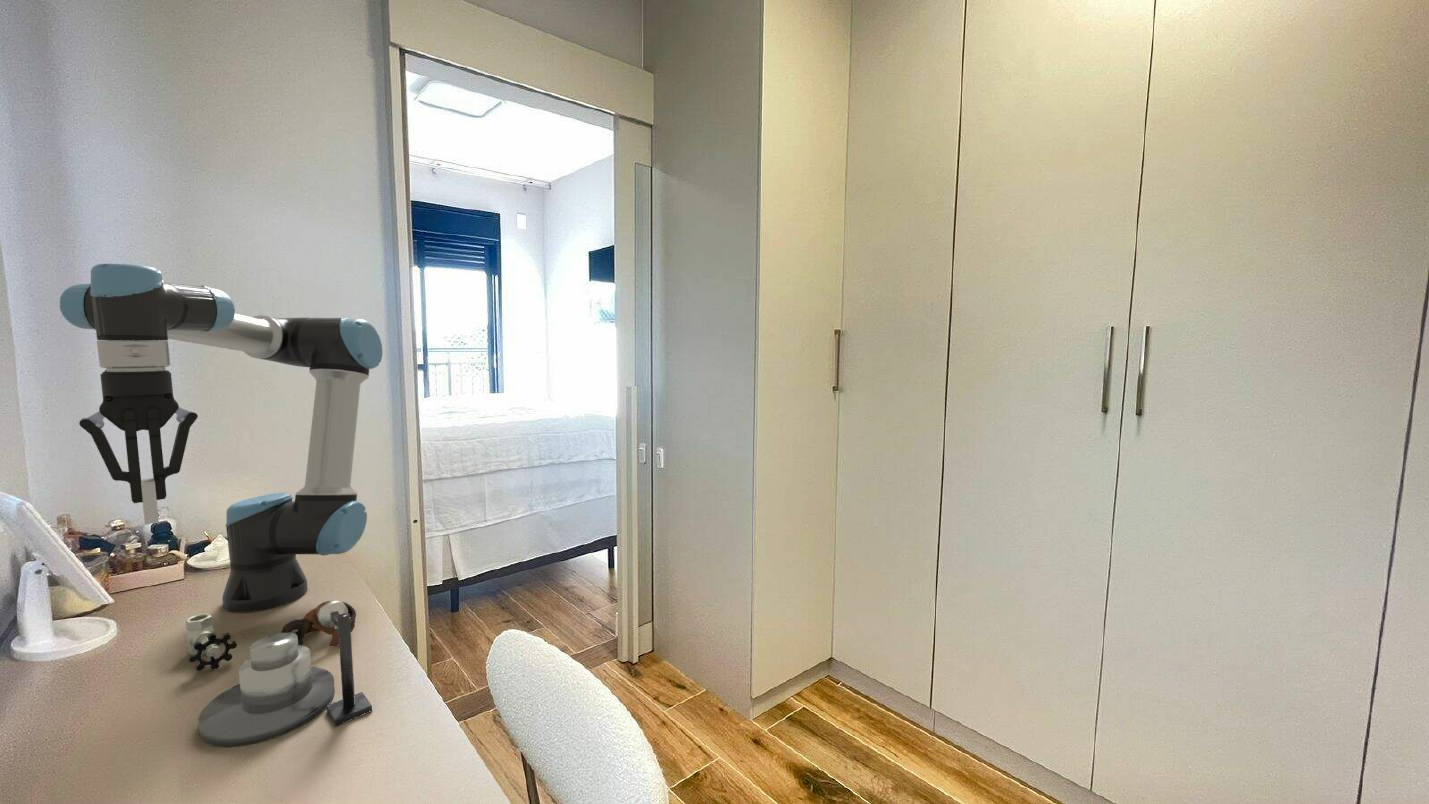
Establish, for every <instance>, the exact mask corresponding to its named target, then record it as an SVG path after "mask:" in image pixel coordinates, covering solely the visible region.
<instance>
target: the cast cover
mask: <svg viewBox="0 0 1429 804" xmlns="http://www.w3.org/2000/svg"><path fill="white" fill-rule="evenodd" d="M249 656H250V657H249V658H248V659H247V660H245V661H243V663H241V665H240V666H239V668H238V677H239V679H238V680H239V684H240V692H241V703H242V709H243V711H245V712H247V713H251V714H263V713H269V712H274V711H277V710H281V709H283V708H286V707H288V706H291V705H293V704H295V703H297V702H298V701H300V700H302V699H303V698H304V697H306V696H307V695H308V694H309V693H310V691H311V690H312V686H313V685H312V671H311V667H312V659H311V650H310V648H308V646H305V645H302V646H301V645H298V637H297V635H296V634H294V632H291V633H281V632H280V633H274V634H272V635H268V636H264V637H262V638H260V639H258V640H256V641H254V642H253V643H252V644H250V647H249Z"/></svg>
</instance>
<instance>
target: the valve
mask: <svg viewBox="0 0 1429 804" xmlns="http://www.w3.org/2000/svg"><path fill="white" fill-rule="evenodd" d="M185 627H186V629H187V630H186V632H185V634H184V640H185V643H186V644H187V648H188V653H189V656H188V657H187V661H188V662H189V663H195V662H196V661H198V664H195V666H194V668H195V670H196V671H197V672H199V671H203V670H204V669H205V667H206V666H209V668H210V669H211V671H215V670H217V669H219V667H220V664H219V663H220V662H222V661H223V660H224V661H226V662H230V661H232V659H233V657H234V656H233V655H232V653H230V650H234V649H236V648H237V647H238V643H237V642H236V641H234V640H233V641H231V642H230V643H229V642H228V641H230V639H231V637H232V636H231V634H230V633H228V632H224V633H222V637H221V638H219V637H218V638H217V635H216V629H215V627H214V625H213V621H212V615H211V614H210V613H200V614H195V615H192V616H191V617H188V618H187V619H185ZM221 644H223V645H224V651H223V652H222V653H221V655H220V656H219V657H218V658H215V657H216V656H217V655H218V654H220V645H221ZM204 654H205V656H207V657H209V659H210V660H205V659H203V658H202V655H204Z"/></svg>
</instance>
